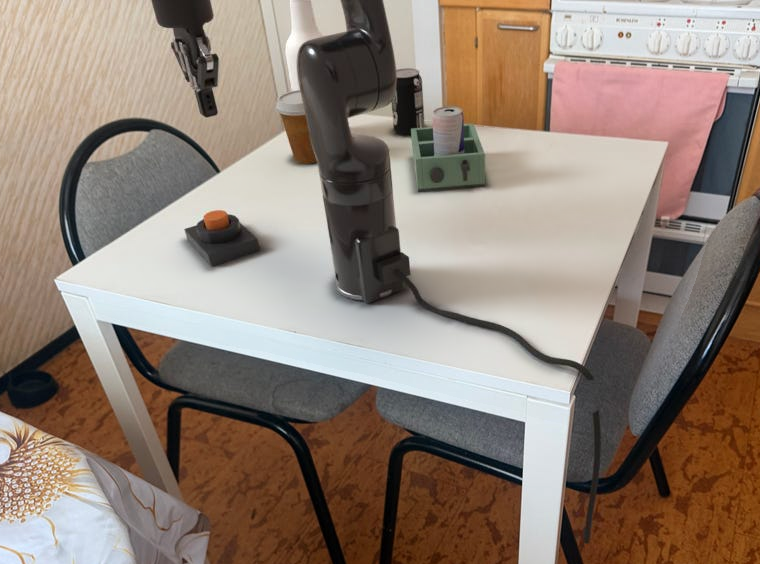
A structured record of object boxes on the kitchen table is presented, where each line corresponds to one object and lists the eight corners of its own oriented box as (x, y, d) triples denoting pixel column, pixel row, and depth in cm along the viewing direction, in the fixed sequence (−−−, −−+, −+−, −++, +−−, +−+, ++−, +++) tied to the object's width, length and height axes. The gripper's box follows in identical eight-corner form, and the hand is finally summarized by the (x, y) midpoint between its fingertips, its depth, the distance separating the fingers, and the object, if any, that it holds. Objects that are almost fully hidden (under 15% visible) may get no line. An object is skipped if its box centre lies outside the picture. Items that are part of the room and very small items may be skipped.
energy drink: (468, 172, 128) (466, 106, 120) (460, 184, 124) (458, 117, 116) (440, 170, 129) (437, 105, 122) (432, 182, 125) (428, 115, 118)
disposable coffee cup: (278, 165, 137) (265, 103, 129) (299, 147, 144) (288, 87, 136) (322, 168, 134) (312, 105, 127) (341, 150, 141) (333, 89, 134)
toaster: (474, 153, 136) (473, 123, 132) (486, 190, 123) (486, 157, 119) (413, 158, 136) (410, 128, 132) (418, 195, 122) (416, 163, 119)
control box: (260, 251, 109) (254, 228, 107) (211, 267, 106) (204, 244, 104) (234, 226, 117) (228, 204, 114) (187, 241, 113) (180, 218, 111)
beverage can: (389, 129, 149) (384, 71, 142) (417, 123, 151) (413, 65, 144) (401, 138, 144) (396, 79, 137) (430, 132, 146) (426, 73, 139)
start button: (232, 225, 109) (230, 215, 108) (210, 233, 107) (208, 222, 106) (224, 217, 111) (221, 207, 110) (202, 224, 110) (199, 214, 108)
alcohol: (345, 140, 145) (323, -21, 127) (303, 147, 144) (275, -16, 125) (337, 127, 152) (316, -28, 134) (297, 133, 150) (270, -23, 132)
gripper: (134, -18, 95) (170, 110, 106) (165, -6, 86) (201, 133, 97) (187, -26, 98) (217, 99, 109) (222, -15, 89) (251, 120, 100)
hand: (209, 115), depth 103 cm, fingers closed
